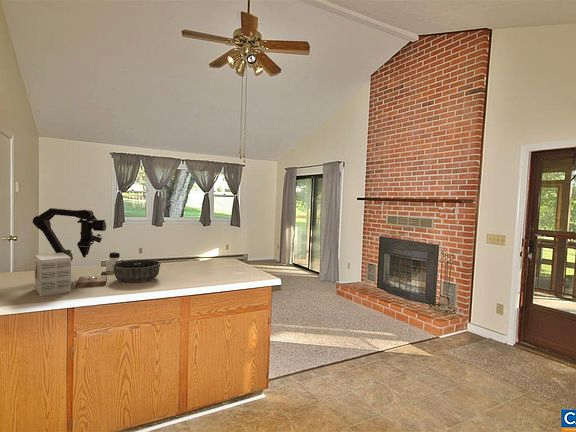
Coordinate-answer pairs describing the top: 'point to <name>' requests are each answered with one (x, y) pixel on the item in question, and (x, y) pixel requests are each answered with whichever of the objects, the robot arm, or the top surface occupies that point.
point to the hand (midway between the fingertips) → (85, 255)
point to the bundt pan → (136, 270)
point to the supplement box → (52, 273)
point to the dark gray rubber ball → (103, 273)
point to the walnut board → (91, 281)
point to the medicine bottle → (112, 261)
